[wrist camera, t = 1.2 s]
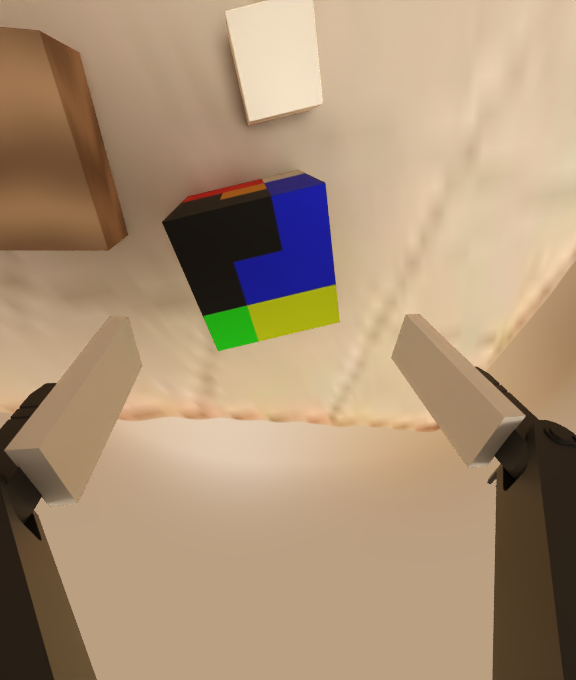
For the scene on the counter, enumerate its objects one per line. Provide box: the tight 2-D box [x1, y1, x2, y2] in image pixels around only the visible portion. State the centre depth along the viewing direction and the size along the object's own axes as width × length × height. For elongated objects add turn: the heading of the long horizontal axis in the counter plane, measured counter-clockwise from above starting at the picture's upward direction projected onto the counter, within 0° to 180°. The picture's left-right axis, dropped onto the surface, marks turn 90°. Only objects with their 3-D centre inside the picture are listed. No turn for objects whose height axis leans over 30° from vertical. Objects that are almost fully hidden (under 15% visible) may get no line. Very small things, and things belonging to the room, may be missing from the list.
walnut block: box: [0, 27, 128, 250], centre depth 20 cm, size 12×12×5 cm
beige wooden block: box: [225, 0, 323, 126], centre depth 19 cm, size 5×5×5 cm
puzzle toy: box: [162, 170, 340, 351], centre depth 24 cm, size 10×10×10 cm
